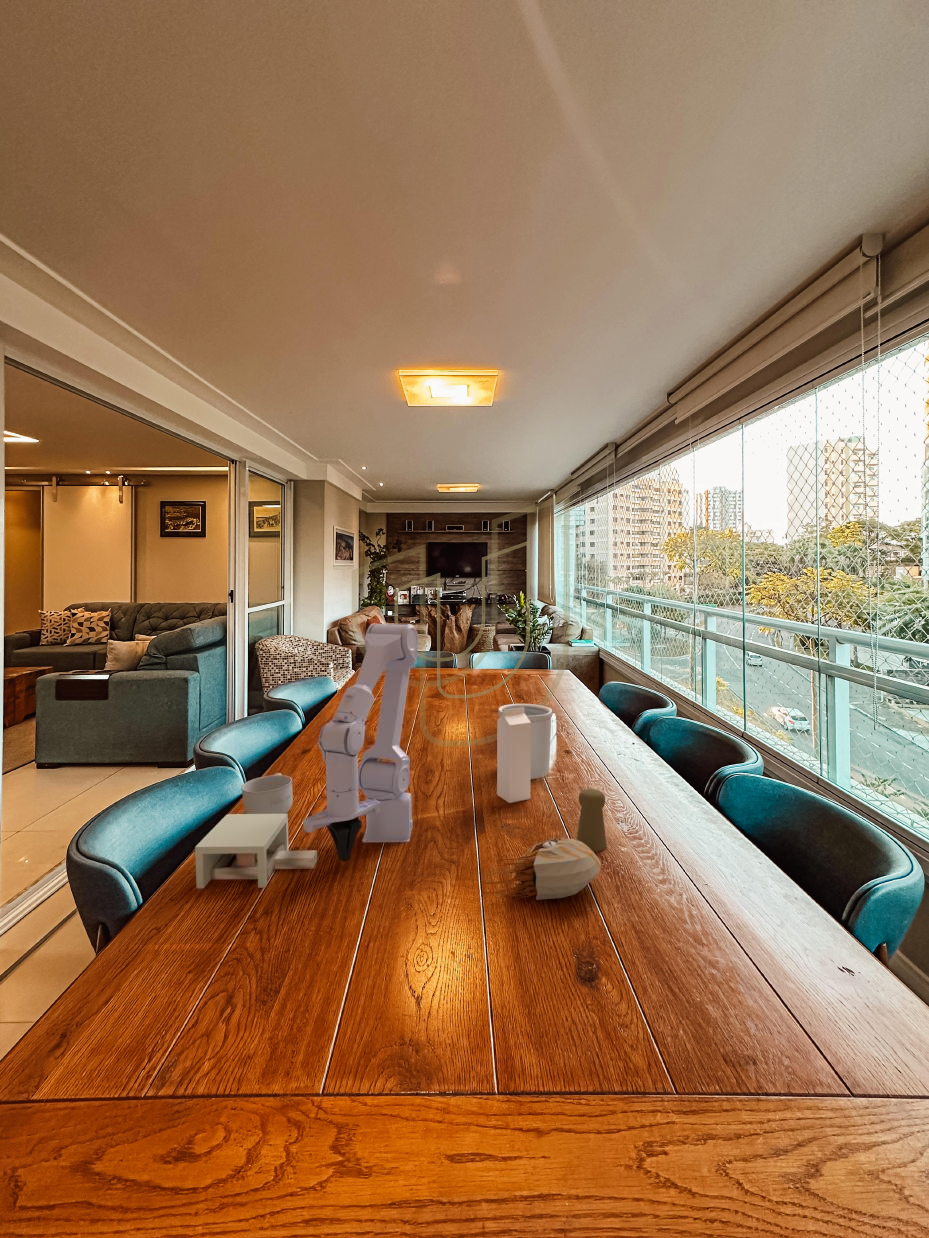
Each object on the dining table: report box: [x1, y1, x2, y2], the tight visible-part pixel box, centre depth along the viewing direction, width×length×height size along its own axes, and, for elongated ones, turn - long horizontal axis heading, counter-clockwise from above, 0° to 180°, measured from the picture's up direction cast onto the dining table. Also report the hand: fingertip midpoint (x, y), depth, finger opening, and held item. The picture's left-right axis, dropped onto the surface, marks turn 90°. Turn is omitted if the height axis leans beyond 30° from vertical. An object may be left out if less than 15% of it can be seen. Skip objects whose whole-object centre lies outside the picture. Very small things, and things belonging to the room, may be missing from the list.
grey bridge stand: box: [194, 813, 290, 889], centre depth 107 cm, size 12×14×8 cm
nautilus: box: [481, 837, 602, 903], centre depth 101 cm, size 8×22×15 cm
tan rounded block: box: [235, 853, 255, 867], centre depth 106 cm, size 3×3×4 cm
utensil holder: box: [497, 703, 553, 780], centre depth 162 cm, size 15×15×18 cm
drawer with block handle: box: [211, 843, 318, 880], centre depth 108 cm, size 17×10×2 cm, turn 91°
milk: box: [496, 707, 531, 804], centre depth 142 cm, size 6×6×22 cm
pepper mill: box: [576, 788, 608, 852], centre depth 117 cm, size 6×6×11 cm
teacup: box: [240, 772, 294, 814], centre depth 133 cm, size 14×11×8 cm
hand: (344, 858), depth 108 cm, fingers closed
